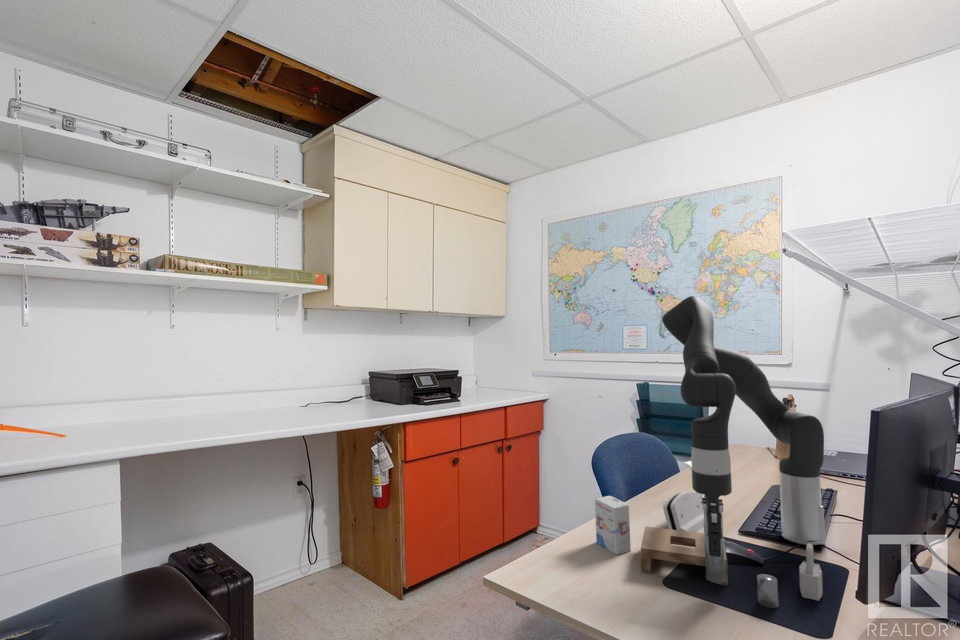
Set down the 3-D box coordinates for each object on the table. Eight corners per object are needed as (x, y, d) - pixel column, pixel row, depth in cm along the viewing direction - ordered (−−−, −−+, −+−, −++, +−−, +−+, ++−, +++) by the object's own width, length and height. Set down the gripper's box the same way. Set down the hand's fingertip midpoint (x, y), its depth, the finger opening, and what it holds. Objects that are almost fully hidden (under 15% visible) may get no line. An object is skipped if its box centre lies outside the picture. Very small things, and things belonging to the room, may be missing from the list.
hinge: (687, 537, 135) (673, 499, 137) (671, 539, 138) (658, 501, 140) (712, 521, 146) (699, 486, 149) (697, 522, 149) (685, 488, 152)
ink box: (594, 542, 133) (593, 497, 133) (610, 539, 135) (609, 494, 135) (615, 555, 125) (614, 507, 125) (631, 551, 127) (630, 504, 127)
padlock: (822, 602, 101) (820, 552, 102) (798, 597, 104) (797, 548, 104) (823, 588, 107) (821, 540, 107) (800, 582, 110) (799, 536, 110)
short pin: (776, 600, 103) (775, 575, 103) (780, 609, 99) (778, 583, 99) (756, 597, 104) (755, 572, 104) (759, 606, 100) (758, 580, 101)
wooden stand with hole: (723, 558, 122) (722, 535, 122) (727, 585, 109) (727, 560, 109) (645, 547, 129) (645, 526, 129) (641, 572, 116) (640, 548, 116)
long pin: (724, 576, 105) (722, 518, 106) (725, 584, 102) (723, 524, 102) (705, 573, 107) (703, 516, 107) (706, 581, 103) (704, 522, 104)
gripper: (734, 479, 97) (737, 569, 97) (728, 461, 110) (731, 540, 110) (692, 476, 100) (695, 563, 99) (691, 459, 113) (694, 536, 112)
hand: (714, 551), depth 104 cm, fingers closed on long pin, 3 cm apart
